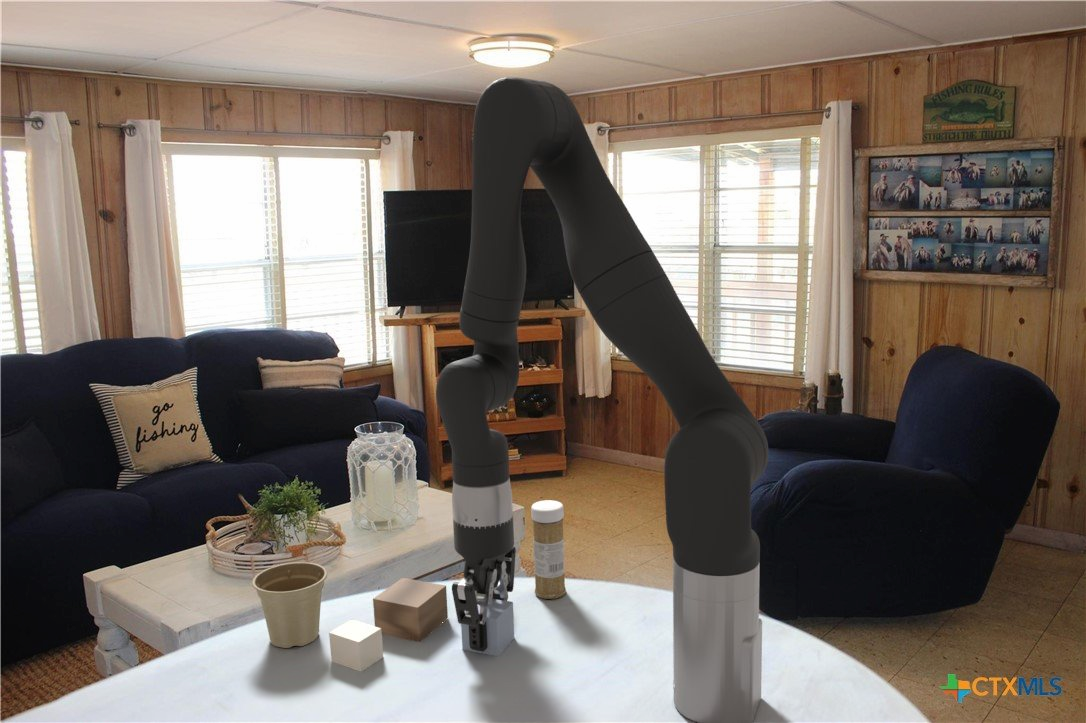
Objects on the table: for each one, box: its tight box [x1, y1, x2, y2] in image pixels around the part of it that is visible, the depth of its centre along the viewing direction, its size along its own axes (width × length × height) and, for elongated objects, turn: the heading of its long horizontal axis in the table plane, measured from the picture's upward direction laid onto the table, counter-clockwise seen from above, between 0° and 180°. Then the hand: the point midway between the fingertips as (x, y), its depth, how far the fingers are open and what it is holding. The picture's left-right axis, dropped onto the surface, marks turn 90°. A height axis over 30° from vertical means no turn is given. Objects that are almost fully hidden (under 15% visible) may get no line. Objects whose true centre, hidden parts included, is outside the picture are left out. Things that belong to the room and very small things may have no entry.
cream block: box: [328, 619, 384, 672], centre depth 112 cm, size 5×4×4 cm
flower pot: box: [252, 561, 328, 649], centre depth 118 cm, size 9×9×9 cm
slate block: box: [460, 596, 515, 657], centre depth 115 cm, size 5×5×5 cm
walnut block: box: [372, 577, 449, 643], centre depth 120 cm, size 7×7×5 cm
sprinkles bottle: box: [530, 499, 567, 600], centre depth 128 cm, size 5×5×13 cm
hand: (488, 638), depth 115 cm, fingers closed on slate block, 5 cm apart
